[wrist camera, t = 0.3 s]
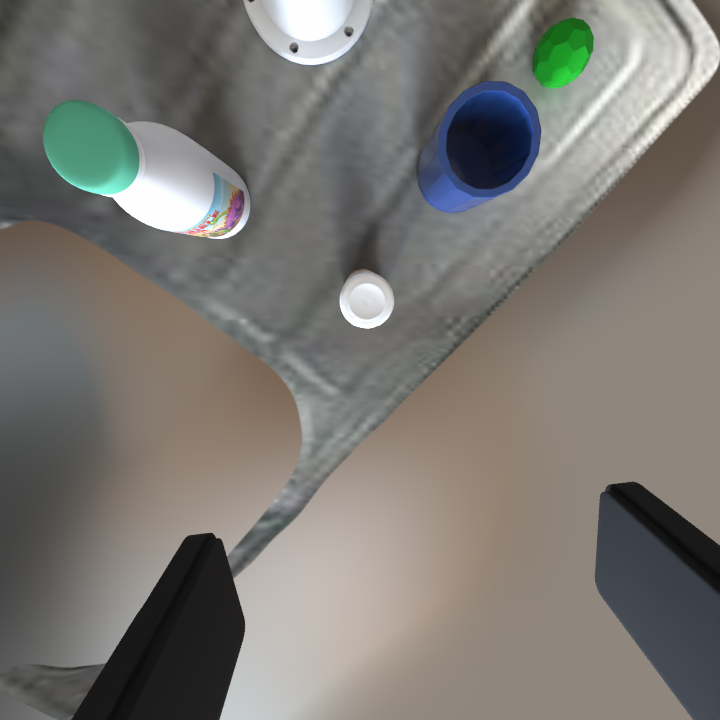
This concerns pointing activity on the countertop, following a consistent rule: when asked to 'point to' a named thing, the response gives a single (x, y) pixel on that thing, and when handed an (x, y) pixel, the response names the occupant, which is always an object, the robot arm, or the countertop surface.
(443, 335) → the countertop surface
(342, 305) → the sprinkles bottle
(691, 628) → the robot arm
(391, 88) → the countertop surface
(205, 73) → the countertop surface
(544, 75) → the polyhedron
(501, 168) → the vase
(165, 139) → the milk bottle
